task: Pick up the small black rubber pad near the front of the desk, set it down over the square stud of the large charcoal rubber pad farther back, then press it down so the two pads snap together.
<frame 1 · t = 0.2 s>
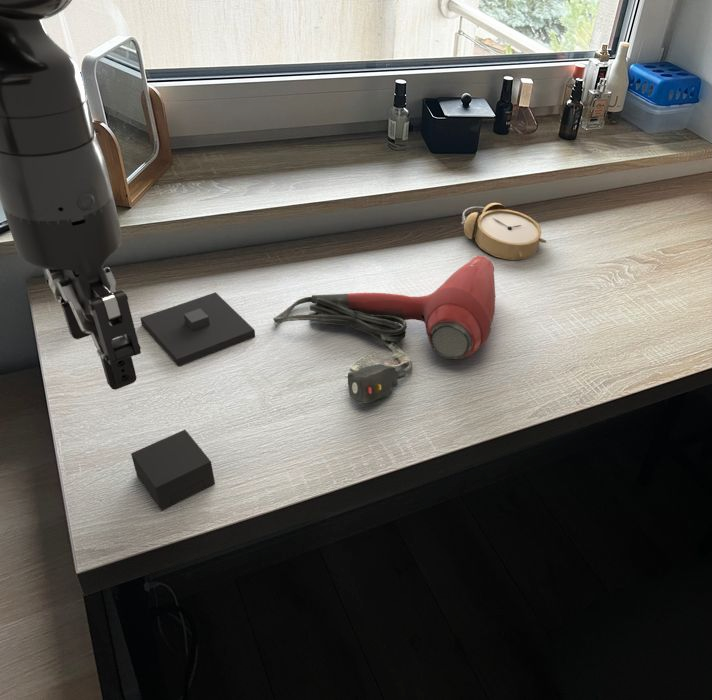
hand: (103, 358, 65), 19 cm above the table, tool pointing down, fingers open, 8 cm apart
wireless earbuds: (96, 311, 100), on the table
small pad: (176, 480, 78), on the table
base pad: (198, 330, 99), on the table
alarm clock: (498, 240, 127), on the table
hair dryer: (408, 328, 104), on the table
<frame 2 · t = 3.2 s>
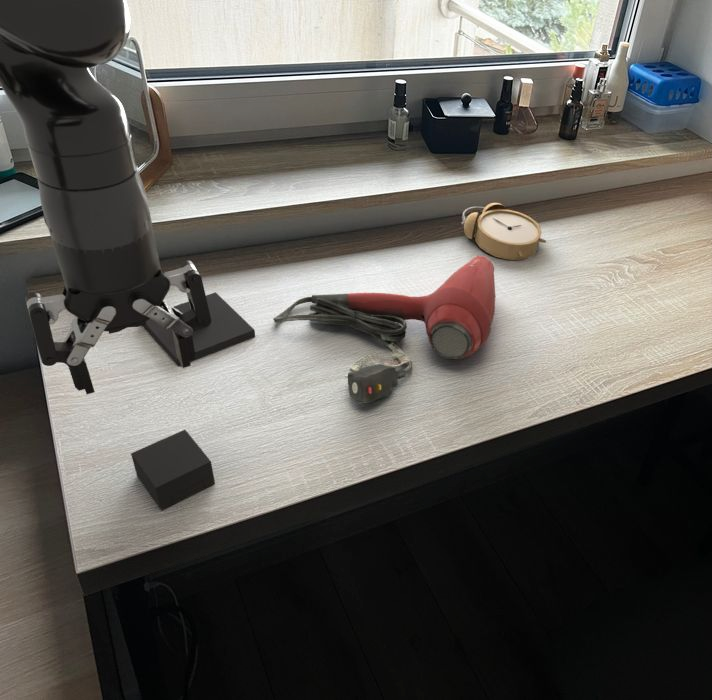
hand: (138, 375, 68), 16 cm above the table, tool pointing down, fingers open, 8 cm apart
nothing on the table moved.
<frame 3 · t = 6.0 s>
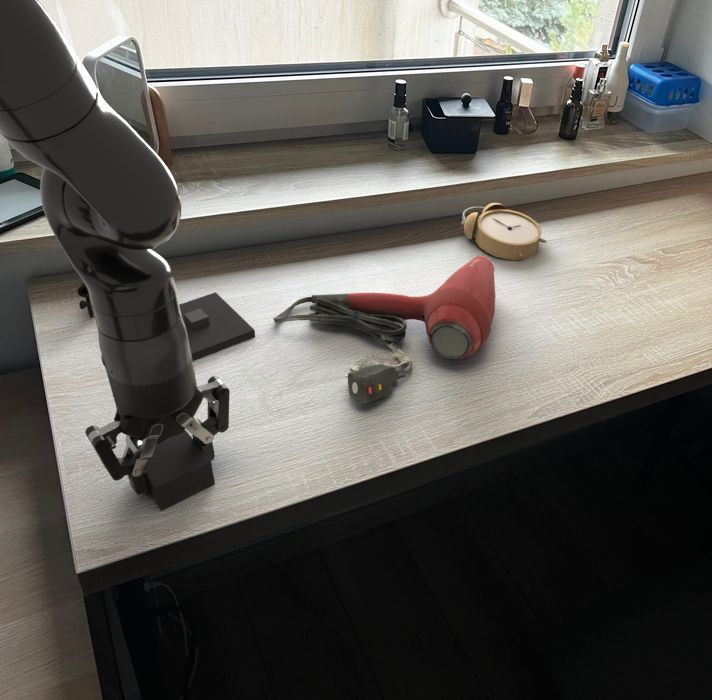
hand: (175, 476, 78), 1 cm above the table, tool pointing down, fingers closed on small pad, 6 cm apart
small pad: (176, 480, 78), on the table, touching gripper
everything else where it was.
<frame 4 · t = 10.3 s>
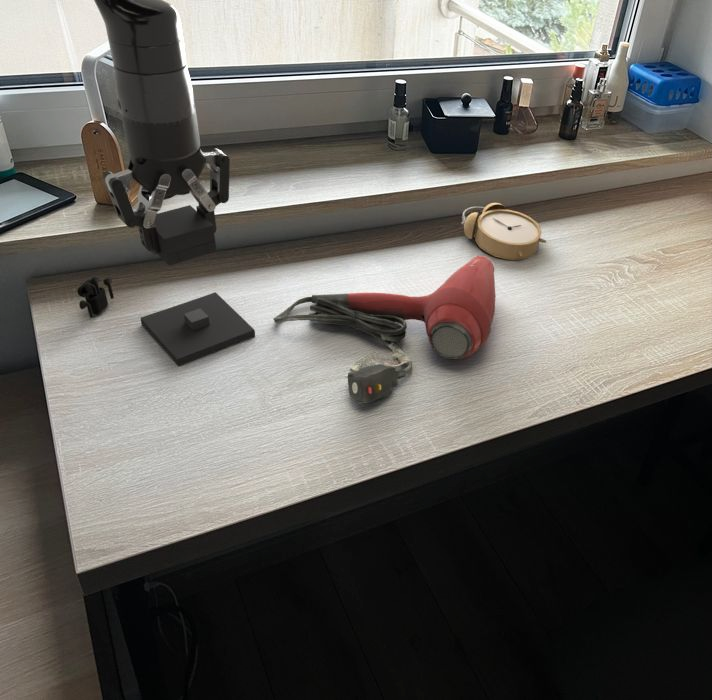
hand: (181, 243, 87), 15 cm above the table, tool pointing down, fingers closed on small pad, 6 cm apart
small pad: (182, 247, 88), point 15 cm above the table, touching gripper
everything else where it was.
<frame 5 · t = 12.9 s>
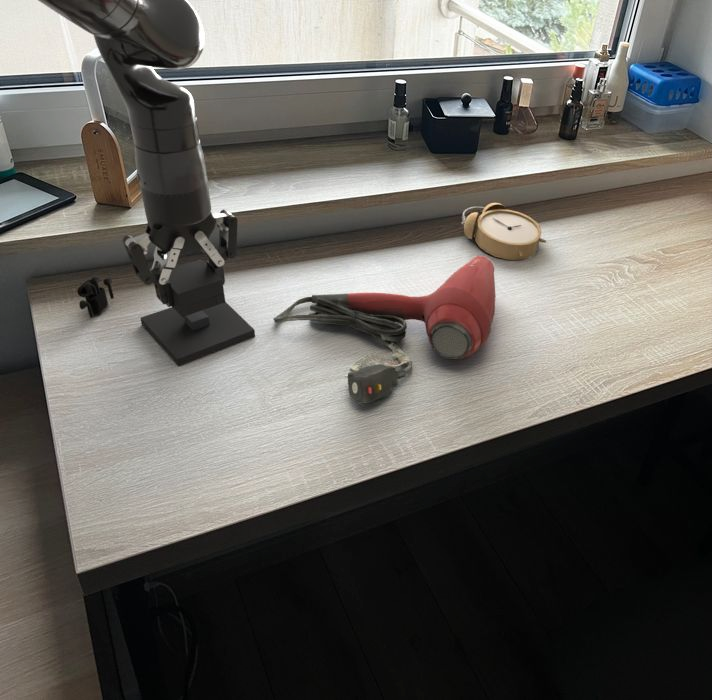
hand: (192, 295, 95), 6 cm above the table, tool pointing down, fingers closed on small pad, 6 cm apart
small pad: (193, 299, 96), point 5 cm above the table, touching gripper
everything else where it was.
when the fingers open (2 cm above the table, at t = 14.7 s): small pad stays where it is, resting on base pad.
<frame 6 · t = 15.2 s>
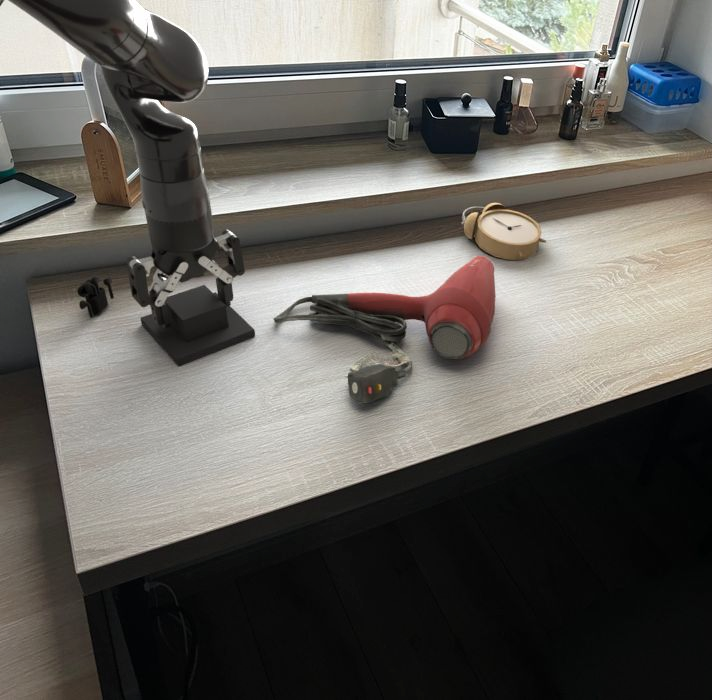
hand: (195, 313, 97), 3 cm above the table, tool pointing down, fingers open, 8 cm apart
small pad: (197, 323, 98), point 1 cm above the table, touching base pad
base pad: (198, 330, 99), on the table, touching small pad
everything else where it was.
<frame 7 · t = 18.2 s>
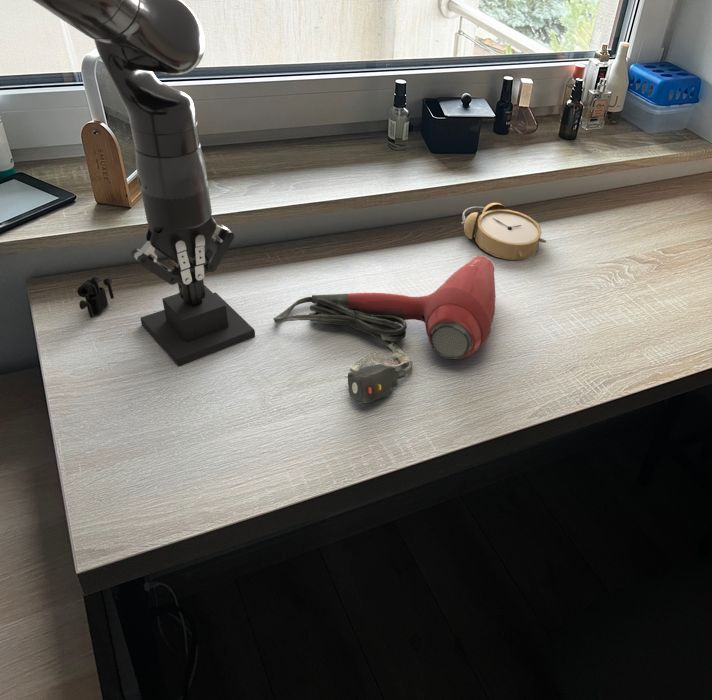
hand: (194, 301, 96), 5 cm above the table, tool pointing down, fingers closed
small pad: (197, 323, 98), point 1 cm above the table, touching base pad, gripper
everything else where it was.
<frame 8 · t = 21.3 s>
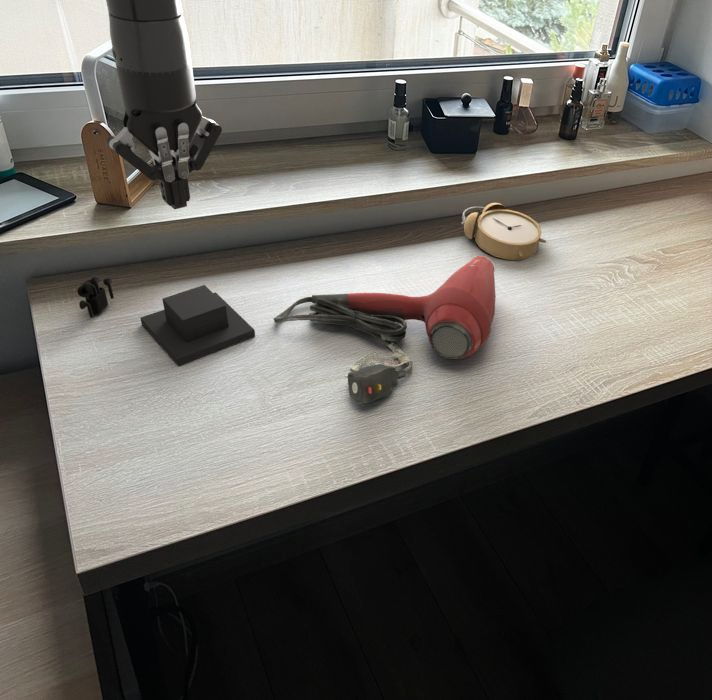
hand: (177, 205, 87), 19 cm above the table, tool pointing down, fingers closed
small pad: (197, 323, 98), point 1 cm above the table, touching base pad
everything else where it was.
at the end: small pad 0.0 cm off-centre on the base pad, point 1.2 cm above the base pad's base; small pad tilted 0°; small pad touching base pad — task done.
